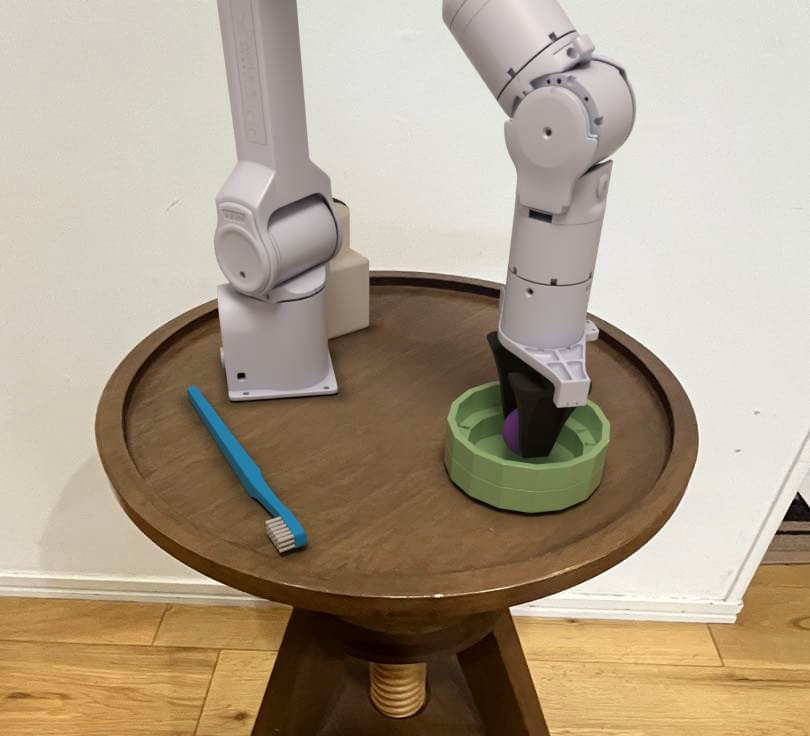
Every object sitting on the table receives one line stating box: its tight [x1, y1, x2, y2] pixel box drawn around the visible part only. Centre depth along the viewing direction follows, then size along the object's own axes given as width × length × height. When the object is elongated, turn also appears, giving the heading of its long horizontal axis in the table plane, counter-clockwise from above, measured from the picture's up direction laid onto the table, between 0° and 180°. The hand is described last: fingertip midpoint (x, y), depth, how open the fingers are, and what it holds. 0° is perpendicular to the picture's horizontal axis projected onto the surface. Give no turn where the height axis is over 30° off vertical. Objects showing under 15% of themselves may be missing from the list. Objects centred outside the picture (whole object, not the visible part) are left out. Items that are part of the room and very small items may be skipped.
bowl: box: [443, 380, 611, 514], centre depth 66 cm, size 12×12×4 cm
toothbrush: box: [186, 385, 308, 554], centre depth 66 cm, size 23×2×2 cm
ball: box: [503, 408, 522, 457], centre depth 65 cm, size 4×4×4 cm
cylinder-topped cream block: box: [326, 197, 370, 341], centre depth 81 cm, size 7×7×12 cm
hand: (526, 438), depth 66 cm, fingers closed on ball, 4 cm apart
